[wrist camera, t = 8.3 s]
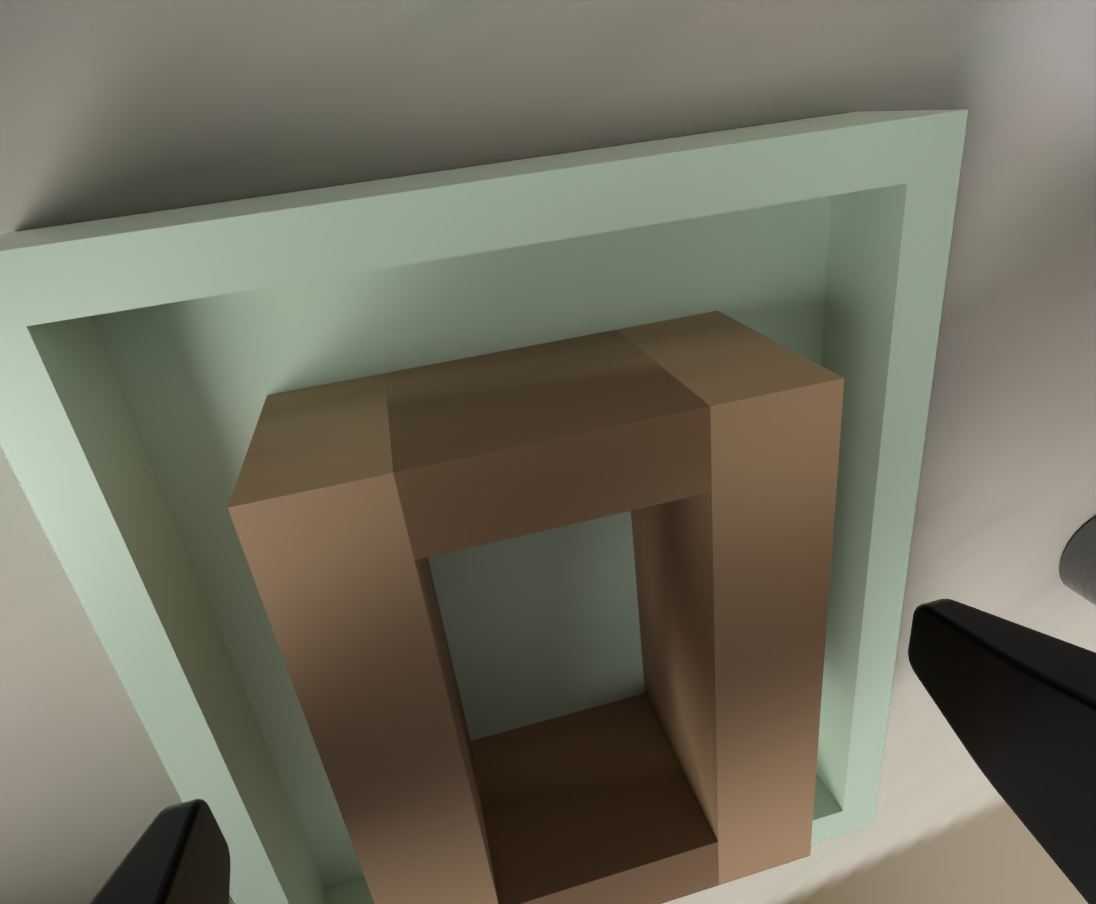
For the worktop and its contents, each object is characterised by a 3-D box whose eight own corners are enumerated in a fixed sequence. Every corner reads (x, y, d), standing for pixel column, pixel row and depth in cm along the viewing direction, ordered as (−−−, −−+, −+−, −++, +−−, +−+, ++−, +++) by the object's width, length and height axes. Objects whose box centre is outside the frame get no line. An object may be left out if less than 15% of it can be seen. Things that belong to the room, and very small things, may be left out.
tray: (10, 232, 8) (-93, 263, 6) (855, 110, 10) (968, 109, 8) (299, 891, 14) (289, 1012, 12) (812, 741, 15) (873, 825, 14)
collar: (722, 712, 14) (810, 855, 11) (396, 804, 13) (404, 986, 10) (717, 311, 10) (844, 378, 7) (267, 394, 9) (228, 507, 6)
